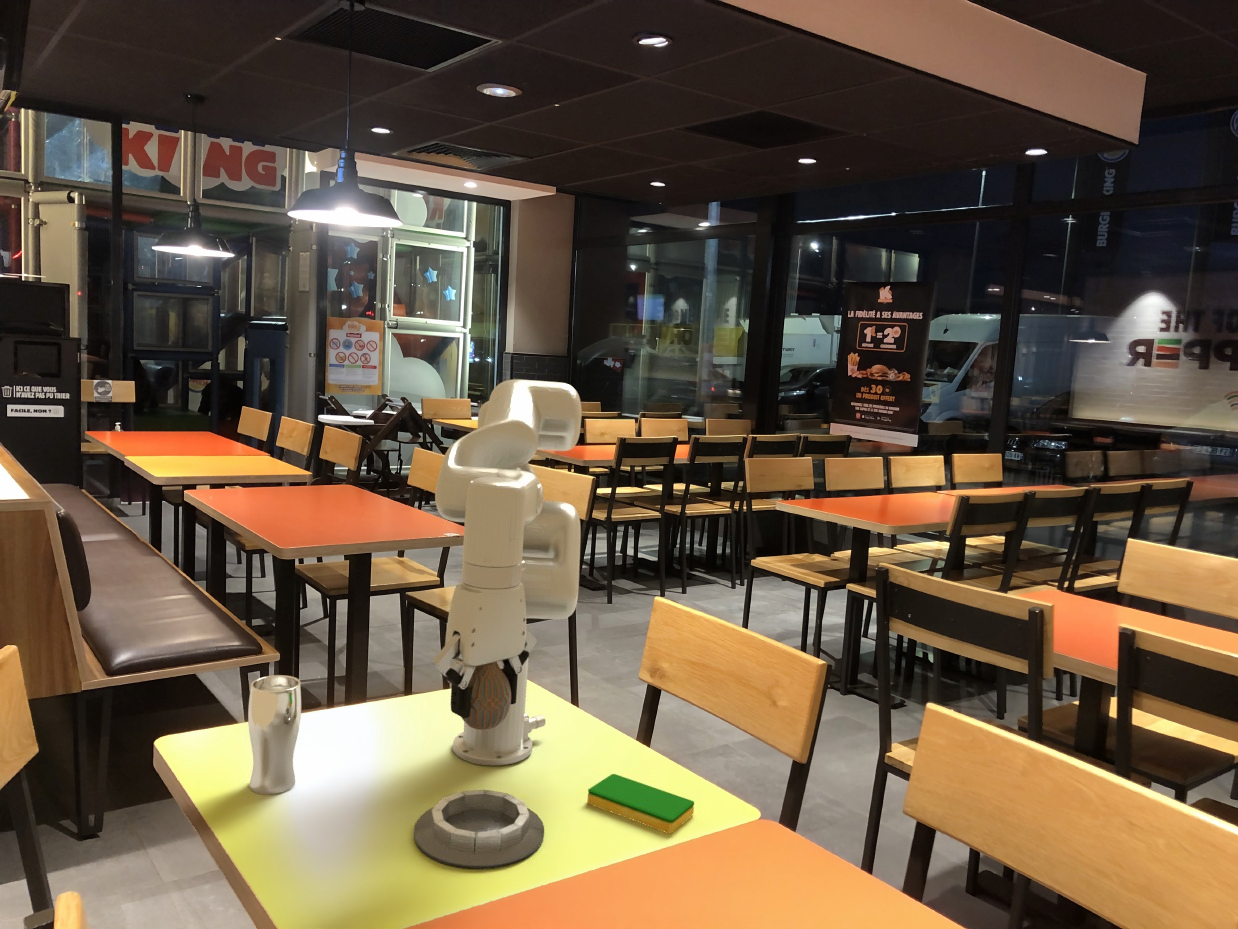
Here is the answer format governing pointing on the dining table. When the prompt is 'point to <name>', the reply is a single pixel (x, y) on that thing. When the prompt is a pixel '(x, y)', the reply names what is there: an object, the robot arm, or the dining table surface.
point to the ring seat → (479, 830)
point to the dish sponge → (641, 802)
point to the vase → (488, 697)
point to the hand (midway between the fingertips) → (483, 706)
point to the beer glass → (273, 732)
